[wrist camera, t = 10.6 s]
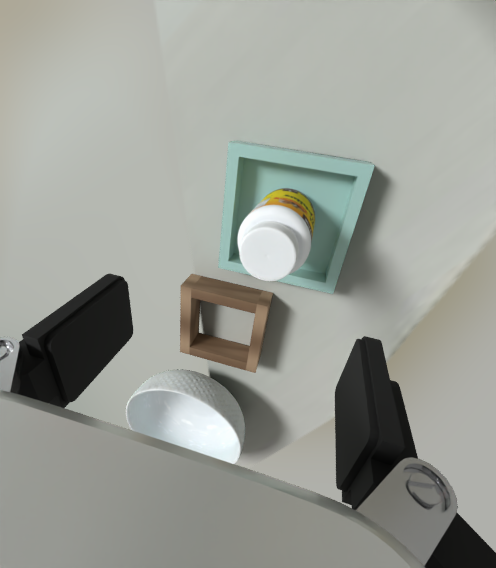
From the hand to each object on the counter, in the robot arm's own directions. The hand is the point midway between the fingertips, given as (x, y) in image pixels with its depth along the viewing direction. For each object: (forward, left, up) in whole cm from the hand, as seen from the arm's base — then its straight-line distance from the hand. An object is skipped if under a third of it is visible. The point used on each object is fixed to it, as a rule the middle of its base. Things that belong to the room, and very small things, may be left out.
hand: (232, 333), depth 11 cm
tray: (+1, 0, -20) cm, 20 cm away
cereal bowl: (+31, -8, -20) cm, 37 cm away
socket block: (+15, -5, -20) cm, 25 cm away
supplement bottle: (0, 0, -19) cm, 19 cm away
